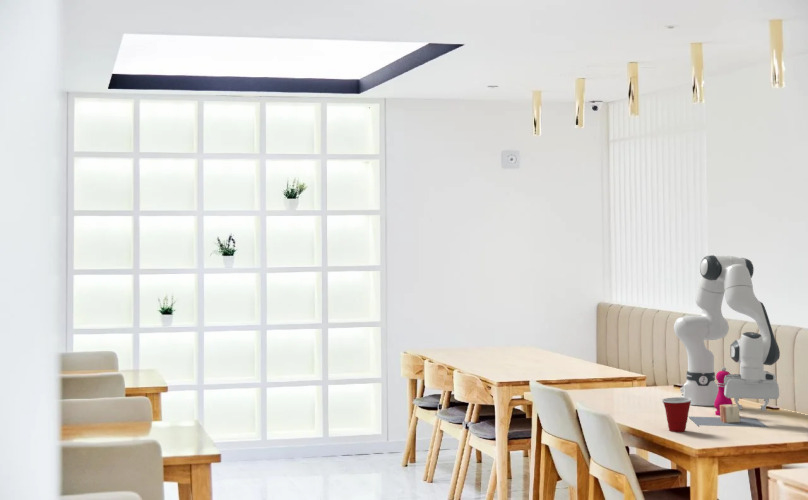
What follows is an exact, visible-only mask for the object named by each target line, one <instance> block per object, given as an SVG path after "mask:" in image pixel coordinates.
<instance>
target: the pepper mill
mask: <svg viewBox="0 0 808 500" xmlns="http://www.w3.org/2000/svg"><path fill="white" fill-rule="evenodd" d="M728 374H731V373H730V371H727V368H726V367H725V366H723V367H721V370H720V371H717V373H715V380H716V381H717V382H716V384H717V386H718V395H717V397H716V399H715V402H714V405H713V407H714V408H715V410H716V411H715V412H714V413H715V416H718V417H720V405H731V404H733V400H732V398H727V397H726V396H725V395H724V389H725V384H724V377H725V376H726V375H728ZM727 377H728V376H727Z"/></svg>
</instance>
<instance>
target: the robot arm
mask: <svg viewBox="0 0 808 500" xmlns="http://www.w3.org/2000/svg"><path fill="white" fill-rule="evenodd" d="M754 270H755V269H754V265H753V262H752V261H751V260H750V259H748V258H745V257H737V256H731V255H726V256H725V255H713V254H712V255H706V256H704V257H703V259H702V260H701V261H700V266H699V273H700V275H701V277H700V281H699V284H698V286H697V287H698V288H697V290H696V291H697V292H696V295H695V304H696V305H697V307H699V308H700V310H701V313H700V315H684V316H680V317H678V318H676V320H674V324H673V332H674V335H675V336H676V337H677V338H678V339H679V340H680V341H681V342H682V344H683V345H684V347H685V351H686V354H687V355H686V357H687V371H686V381H685V382H684V384H683V386H681V387H680V389H679V391H680V393H681V397H685V398H691V399H692V401H691V403H690V406H700V407H701V406H703V407H704V406H705V407H707V406H708V407H710V406H713V407H714V402H715V399H716V397H717V395H718V386H717V382H716V381H715V380H716V372H715V355H714V353H713V352H712V351H711V350H709V349H707V347H706V346H705V341H717V340H721V339H724V338H726V336H727V335H728V333H729V329H730V327H729V323H728V320H726V319H727V318H725V317H724V316H723V313H722V304H723V300H724V298H725V301H726V304H727V305H728V307H729V308H730V309H732V310H733V311H735V312H736V313H739V314H741V315H742V314H743V315H745V316H747V317H748V318H751V319H753V320H754V321H755V323H757V327H758V330H759V333H758V332H753V331H745V332H744V333H742V334H741V336H740V338H739V339H735V340H734V341H733V342H732V343H731V344H730V351H729V352H730V355H729V357H730V358H731V359H732V360H733V362H735V363H738V364H739V373H734V374H733V373H730V374H728V375H726V376H725V377H724V384H725V389H724V395H725V396H726V397H727V398H731V399H733V401H734V403H735V404H736V405H737V406H739V411H742V408H743V405H742V404H740V403H739V401H740V399H753V400H755V399H757V400H759V399H760V400H763V402H764V403H763V405H762V404H761V405H760V410H761V411H763V412H764V411H767V408H766V407H767V406H768V404H769V402H770V400H778V399H779V397H780V388H779V384H778V382H777V381H776V380H777V375H776V374H774V373H772V372H769V371H767V370H765V366H772V365H774V364H775V363H776V362H778V360H779V359H780V354H781V353H780V348H779V344H778V342H777V340H776V338H775V334H774V332H773V331H774V330H773V328H772V325H771V322H770V318H769V315H768V313H767V309H766V306H765V305H764V304H763V302H762V301H760V300H759V299H758V298H757V296H756V295H755V292H754V287H753V282H752V281H753V280H752V278H753V276H754ZM724 296H725V297H724ZM764 365H765V366H764ZM727 376H728V377H727Z"/></svg>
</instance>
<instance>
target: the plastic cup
mask: <svg viewBox="0 0 808 500" xmlns="http://www.w3.org/2000/svg"><path fill="white" fill-rule="evenodd" d="M691 401H692V399H691V398H685V397H684V396H679V397H667V398H663V399H661V402H662V403H663V406H664V409H665V415H666V421H667V427H668V430H669V432H673V433H684V432H686V427H687V423H688V419H689V412H690V406H691V405H690V403H691Z"/></svg>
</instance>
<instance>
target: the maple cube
mask: <svg viewBox="0 0 808 500" xmlns="http://www.w3.org/2000/svg"><path fill="white" fill-rule="evenodd" d="M719 417H721V421H722V422H724V423H732V422H740V418H741V417H740V410H739V406H737V404H736V403H735V404H731V405H720V416H719Z"/></svg>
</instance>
